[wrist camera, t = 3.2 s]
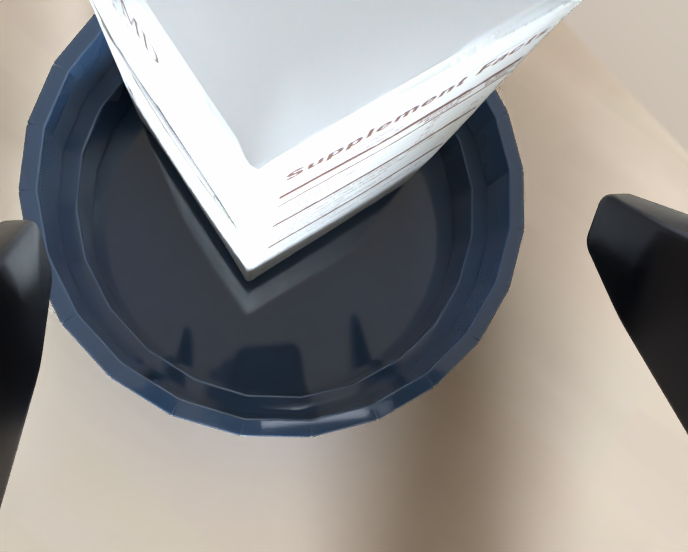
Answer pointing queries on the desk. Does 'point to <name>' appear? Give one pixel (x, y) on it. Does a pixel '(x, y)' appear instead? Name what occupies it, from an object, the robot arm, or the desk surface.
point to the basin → (274, 284)
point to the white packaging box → (309, 99)
